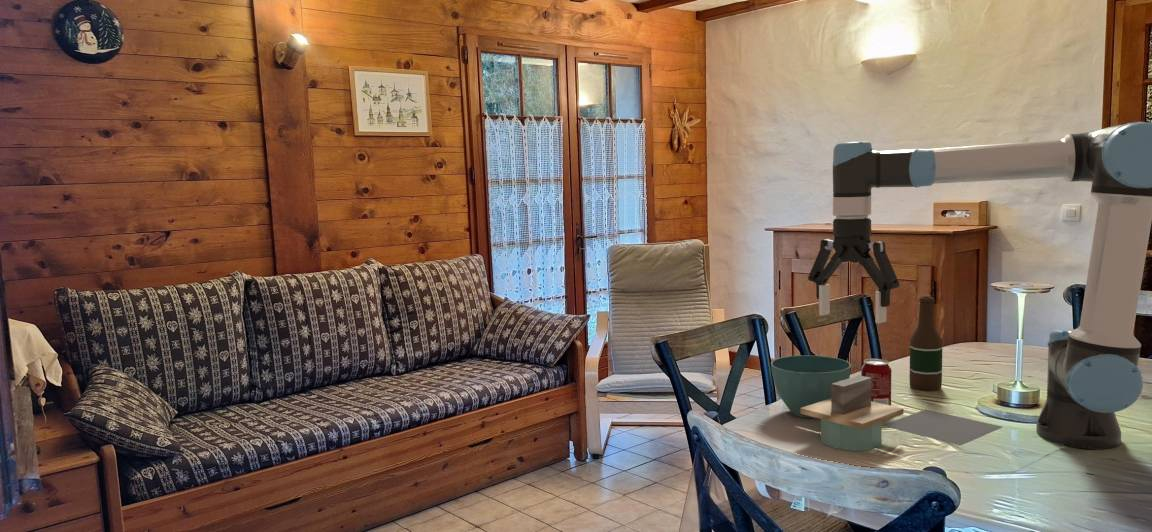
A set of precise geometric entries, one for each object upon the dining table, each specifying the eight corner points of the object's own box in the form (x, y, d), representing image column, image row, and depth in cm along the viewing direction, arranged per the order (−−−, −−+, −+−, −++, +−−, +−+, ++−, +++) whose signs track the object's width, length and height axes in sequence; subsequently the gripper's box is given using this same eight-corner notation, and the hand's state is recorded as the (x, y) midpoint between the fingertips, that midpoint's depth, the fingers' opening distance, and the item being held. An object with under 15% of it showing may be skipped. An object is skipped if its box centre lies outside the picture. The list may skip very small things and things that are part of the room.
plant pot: (756, 415, 192) (756, 365, 191) (796, 398, 205) (796, 351, 203) (826, 430, 179) (826, 376, 178) (864, 411, 192) (864, 361, 191)
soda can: (893, 415, 189) (893, 365, 187) (863, 414, 190) (863, 364, 189) (888, 406, 195) (888, 358, 194) (859, 406, 197) (859, 358, 195)
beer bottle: (948, 389, 209) (950, 297, 206) (925, 392, 206) (926, 300, 203) (925, 382, 216) (926, 293, 213) (902, 385, 213) (903, 296, 210)
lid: (903, 414, 170) (903, 380, 169) (862, 429, 161) (862, 394, 160) (841, 399, 182) (841, 368, 181) (800, 413, 173) (800, 380, 172)
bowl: (892, 441, 171) (893, 414, 170) (859, 455, 163) (859, 426, 163) (843, 428, 180) (843, 402, 180) (809, 440, 173) (809, 413, 172)
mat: (1002, 428, 176) (1002, 426, 176) (960, 447, 166) (960, 445, 166) (925, 410, 191) (925, 409, 191) (881, 427, 180) (881, 425, 180)
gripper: (918, 217, 159) (917, 323, 161) (813, 215, 179) (813, 309, 181) (896, 219, 154) (895, 328, 157) (791, 217, 174) (792, 313, 177)
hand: (851, 318), depth 169 cm, fingers open, 13 cm apart
